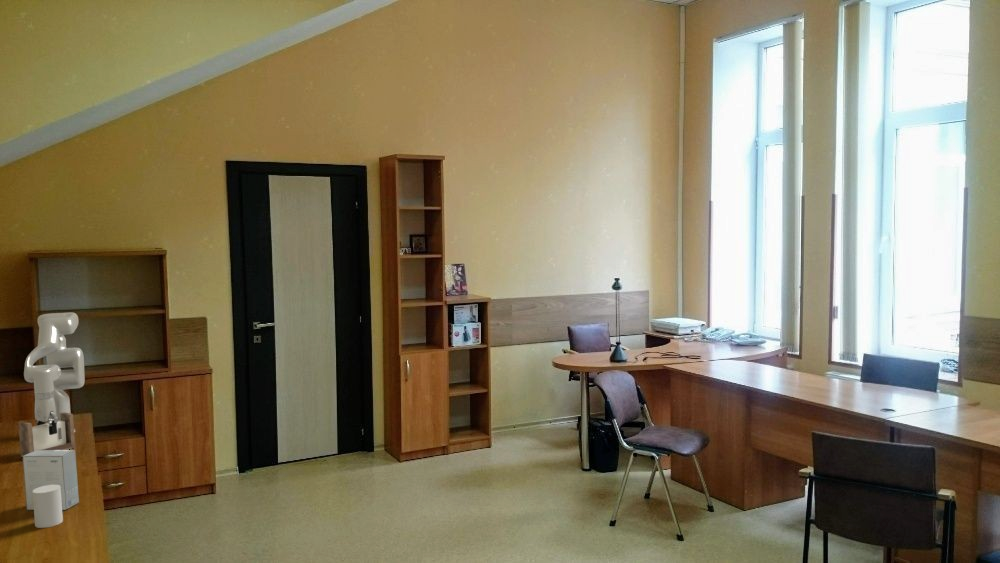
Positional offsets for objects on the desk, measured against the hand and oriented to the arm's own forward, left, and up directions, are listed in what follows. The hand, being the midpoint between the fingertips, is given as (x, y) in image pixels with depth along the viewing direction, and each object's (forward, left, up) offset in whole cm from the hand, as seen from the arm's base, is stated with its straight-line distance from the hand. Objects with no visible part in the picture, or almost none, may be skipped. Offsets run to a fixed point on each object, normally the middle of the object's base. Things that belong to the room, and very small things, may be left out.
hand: (47, 432), depth 337 cm
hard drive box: (+73, -35, -9) cm, 81 cm away
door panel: (0, 0, -8) cm, 8 cm away
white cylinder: (+88, -44, -9) cm, 99 cm away
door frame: (+1, 0, -9) cm, 9 cm away
